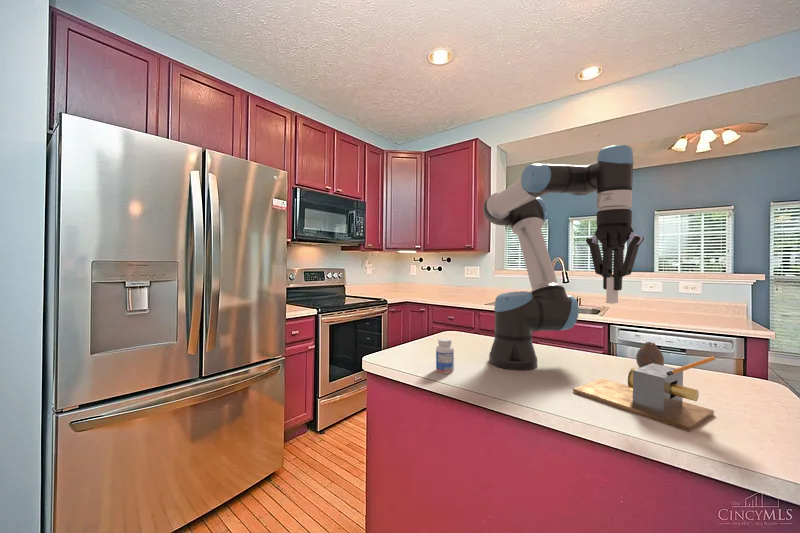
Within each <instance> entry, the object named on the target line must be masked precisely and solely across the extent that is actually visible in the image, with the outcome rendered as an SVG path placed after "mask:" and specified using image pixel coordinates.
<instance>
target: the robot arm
mask: <svg viewBox="0 0 800 533" xmlns="http://www.w3.org/2000/svg"><path fill="white" fill-rule="evenodd" d="M596 160H597V161H595V162H593V163H590V164H587V165H579V164H578V165H576V164H574V165H573V164H556V163H555V164H554V163H553V164H552V163H551V164H550V163H547V164H546V163H541V162H540V163H532V164H528V165H526V166H525V168H524V169H523V171H522V173H521V177H520V179H518V180H517V181H515V182H514V183H512V184H511V185H510V186H508V187H507V188H504V189H503V190H502V191H500V192H495V193H493V194H491V195H489V196H488V197H487V198H486V200H484V203H483V205H482V206H483V207H482V210H483V215H484V217H485V218H486V220H488V222H490V223H492V224H494V225H496V226H504V227H505V226H506V227H507V226H509V227H511V232H512V233H513V234H515V235H517V238H518V242H519V244H520V245H519V246H520V248H521V249H520V250H521V252H522V256H523V260H524V263H525V267H526V272H527V275H528V279H529V282H530V287H531V291H525V290H523V291H522V290H521V291H510V292H505V293H504V292H503V293H500V294H498V295H497V296H496V297H495V302H494V308H493V310H494V340H493V343H492V345H491V348H490V351H489V354H488V356H489V357H488V362H489V363H490V364H492V365H493V366H495V367H498V368H502V369H506V370H516V371H519V370H520V371H524V370H525V371H527V370H532V369H535V368H537V367H538V357H537V355H536V351H535V347H534V344H533V341H532V340H533V338H532V336H533V332H539V331H540V332H545V331H547V332H548V331H551V332H552V331H555V332H560V331H565V330H566V331H567V330H570V329H572V328H573V327H574V326H576V323H577V321H578V318H579V312H580V310H579V309H580V308H579V303H578V301H577V299H576V297H574V296H573V295H570V294H567V293H566V288H565V287H564V286H563V285H561V284H559V282H558V280H557V276H556V274H555V273H556V272H555V270H554V266H553V264H552V261H551V257H550V254H549V251H548V247H547V244H546V241H545V240H546V239H545V238H544V234H543V232H542V228H543V226H544V224H545V222H546V219H547V212H548V210H547V209H548V208H547V206H546V203H545V201H544V200H543V198H541V196H543V195H545V194H550V193H553V194H557V193H559V194H571V195H572V196H575V197H576V196H578V197H579V196H586V195H590V194H592V193H596V209H597V210H598V211H596V230H595V233H594V235H593V236H591V237H587V238H586V240H585V242H586V243H587V245H588V247H589V249H590V255H591V258H592V263H593V268H594V272H595V274H596V275H600V276H602V278H603V281H602V285H603V286H602V288H603V290H606V296H605V297H606V300H605V301H606V302H605V303H606V304H611V305H613V304H618V303H619V291H622V289H623V278H624V277H626V276H630V275H631V274H632V271H633V269H634V268H633V267H634V264H635V261H636V258H637V254H638V251H639V248H640V245H641V244H642V243H643V242H644V239H645V237H644V236H643V235H642V236H641V235H638V234H636V233H634V230H633V227H632V220H633V219H632V218H633V211H632V210H631V208H632V207H633V180H634V179H633V177H634V176H633V173H634V163H635V162H634V153H633V148H632V147H631V146H629V145H626V144H617V145H616V144H615V145H610V146H606V147H603V148H601V149H600V150H599V151H598V153H597V158H596ZM628 241H629V244H628V247H627V251H626V254H625V256H624V250H625V249H626V248H625V246H626V244H627V242H628ZM599 243H600V244H601V248H600V246H599ZM601 250H602V252H601ZM624 257H625V258H624Z"/></svg>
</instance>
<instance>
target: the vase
mask: <svg viewBox="0 0 800 533" xmlns="http://www.w3.org/2000/svg"><path fill="white" fill-rule="evenodd" d="M635 358H636V363H637V366H638V368H641V367H644V366H646V365H649V364H652V363H654V364H659V365H663V366H665V357H664V354H663V352H662V351H661V350H660V349H659V347H658V346H657V344H656V343H655V342H653V341H652V342H651V341H646V342H644V344H643V346H641V347H640V348H639V349H638V350H637V353H636V357H635Z"/></svg>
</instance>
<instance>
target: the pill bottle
mask: <svg viewBox="0 0 800 533" xmlns="http://www.w3.org/2000/svg"><path fill="white" fill-rule="evenodd" d="M437 343H438V345H437V346H436V348H435V361H436V362H435V368H436V372H438V373H441V374H451V373H453V372H454V370H455V369H454V368H455V365H454V364H455V356H454V355H455V353H454V352H455V350H454V349H455V348H454V346H452V338H449V337H440V338H438V339H437Z"/></svg>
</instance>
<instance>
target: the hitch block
mask: <svg viewBox="0 0 800 533" xmlns="http://www.w3.org/2000/svg"><path fill="white" fill-rule="evenodd" d="M677 368H678V367H673V366H667V365H664V366H663V365H659V364H654V363H652V364H649V365H646V366H644V367H641V368H639V367H638V368H637V369H635V370H633V390H632V389H630V388H629V386H628V384H627V385H626V384H623V383H618V382H616V381H612V380H609V379H606V378H601V377H600V378H599V379H596V380H594V381H591V382H587V383H585V384H582V385H579V386H576V387H574V388H572V392H573V393H574V394H577V395H580V396H583V397H585V398H589V399H591V400H595V401H597V402H600V403H603V404H606V405H609V406H612V407H614V408H618V409H621V410H623V411H626V412H628V413H629V412H630V413H632V414H636V415H638V416H640V417H644V418H647V419H650V420H652V421H656V422H658V423H661V424H664V425H667V426H670V427H673V428H676V429H678V430H680V431H681V430H682V431H685V432H688V433H690V432H692V430H694V429H695V428H697V427H699V426H700V425H701V424H703V423H704V422H706V421H707V420H708V419H710V418H712V417H713V416H714V415H715V410H713V409H710V408H706V407H702V406H700V405H696V404H692V403H689V402H685V401H684V400H683V399H684V398H682V397H679V396H675V395H671V394H670V383H672V384H676V385H680V386H684V371H681V372H678V373H675V374H673V372H672V370H675V369H677Z"/></svg>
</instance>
